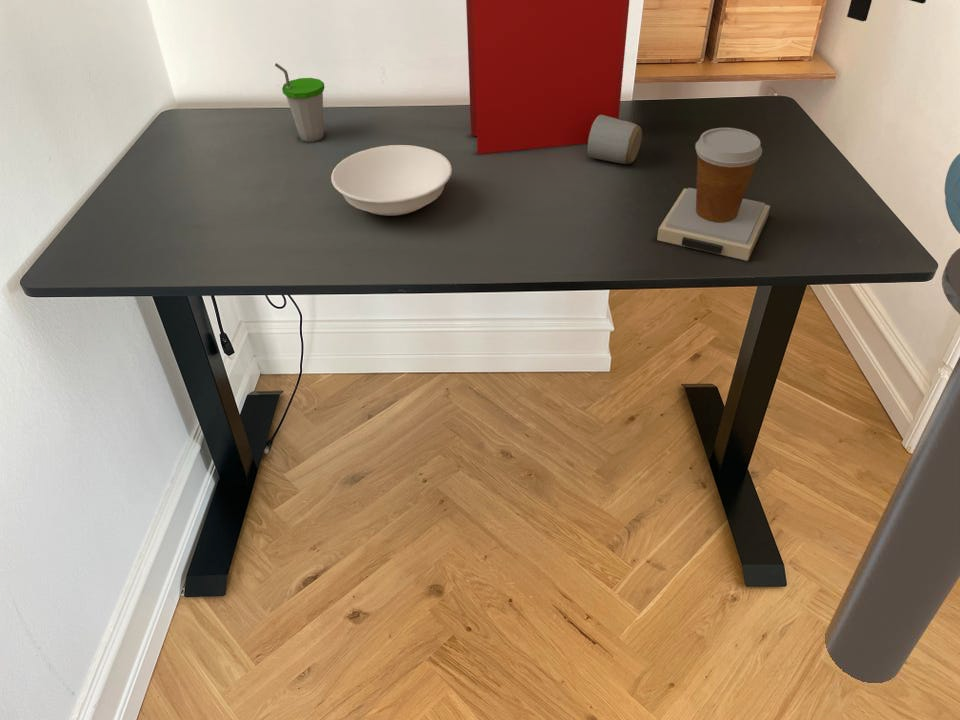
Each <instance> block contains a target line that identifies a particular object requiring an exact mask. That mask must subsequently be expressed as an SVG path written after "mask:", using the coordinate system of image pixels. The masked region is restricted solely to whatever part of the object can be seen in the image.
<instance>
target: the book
mask: <svg viewBox="0 0 960 720" xmlns="http://www.w3.org/2000/svg"><path fill="white" fill-rule="evenodd" d="M465 8H466V33H467V60H468V61H467V62H468V63H467V64H468V87H469V112H470V136H471V137H476V147H477V148H476V151H477V155H480V154H492V153H501V152H511V151H512V152H513V151H521V150H531V149H542V148H553V147H562V146H573V145H583V144H588V139H589V134H590V131H591V127H592V125H593V123H594V121H595V119H596V118H597V117H598V116H599V115H605V116H608V117H612V118H616V119H619V118H620V109H621V98H622V87H623V75H624V65H625V53H626V44H627V43H626V42H627V33H628V20H629V11H630V10H629V9H630V0H465Z"/></svg>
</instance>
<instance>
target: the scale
mask: <svg viewBox="0 0 960 720" xmlns="http://www.w3.org/2000/svg"><path fill="white" fill-rule="evenodd" d="M696 192H697V188H692V187H687V188H686V187H685V188H683V190H682V191H681V193H680V194H679V196H678V197H677V199H676V201H675V202H674V204H673V205H672V207H671V209H670V210H669V211H668V213H667V215H666V216H665V218H664V219H663V220H662V222H661V224H660V226H659V227H658V229H657V230H658V231H657V238H656V239H657V241H660V242H664V243H666V244H667V243H668V244H672V245H676V246H681V247H684V248H689V249H694V250H698V251H702V252H707V253H711V254H716V255H720V256H725V257H728V258H733V259H738V260H742V261H745V262H748V261H749V259H750V257H751V255H752V253H753V250H754V248H755V246H756V244H757V242H758V240H759V238H760V235H761V233H762V231H763V228H764V227H765V224H766V222H767V220H768V217H769V213H770V209H771V205H769V204H766V202H763V201H757V200H752V199H748V198H743V200H742V203H741V205H740V208H739V211H738V214H737V217H736V218H735V219H733V220H731V221H728V222H712V221H708V220H705V219H703V218H701V217H700V216H698V214H697V213H696Z"/></svg>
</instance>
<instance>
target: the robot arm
mask: <svg viewBox="0 0 960 720" xmlns="http://www.w3.org/2000/svg"><path fill="white" fill-rule="evenodd" d="M909 1H910V2H914V3H918V4H922V5H923V4H926V2H927V0H909ZM872 2H873V0H850V2H849V6H848V11H847V14H846V17H847V18H849V19H852V20H857V21H859V22H866V21H867V20H868V16H869V13H870V9H871V5H872ZM944 199H945V200H944V203H945V208H946V212H947V215H948V218H949V220H950V222H951V224H952V226H953V227H954V229H955V231H956V232H957V233H958V234H959V235H960V153H958V154H957V155H956V156H955V157H954V158H953V160H952V162H951V163H950V165H949V167H948V170H947V173H946V177H945V181H944Z"/></svg>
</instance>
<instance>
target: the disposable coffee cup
mask: <svg viewBox="0 0 960 720" xmlns="http://www.w3.org/2000/svg"><path fill="white" fill-rule="evenodd" d="M695 151H696V155H697V159H696V161H697V162H696V166H697V167H696V189H697V192H696V213H697V214H698V216H700V217H701V218H703V219H705V220H708V221H712V222H728V221H731V220H733V219H735V218H736V217H737V214H738V211H739V208H740V205H741V203H742V200H743V199H744V197H745V194H746V191H747V188H748V186H749V182H750V180H751V178H752V174H753V172H754V169H755V166H756V163H757V161H758V160H759V159H760V158H761V156H762V154H763V148H762V146H761V140H760V138H759V137H758V136H757V135H756V134H754V133H753V132H750V131H748V130H745V129H741V128H735V127H717V128H711V129H708V130H706V131H704V132H702V133H701V135H700V136H699V139H698V140H697V141H696V142H695Z"/></svg>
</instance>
